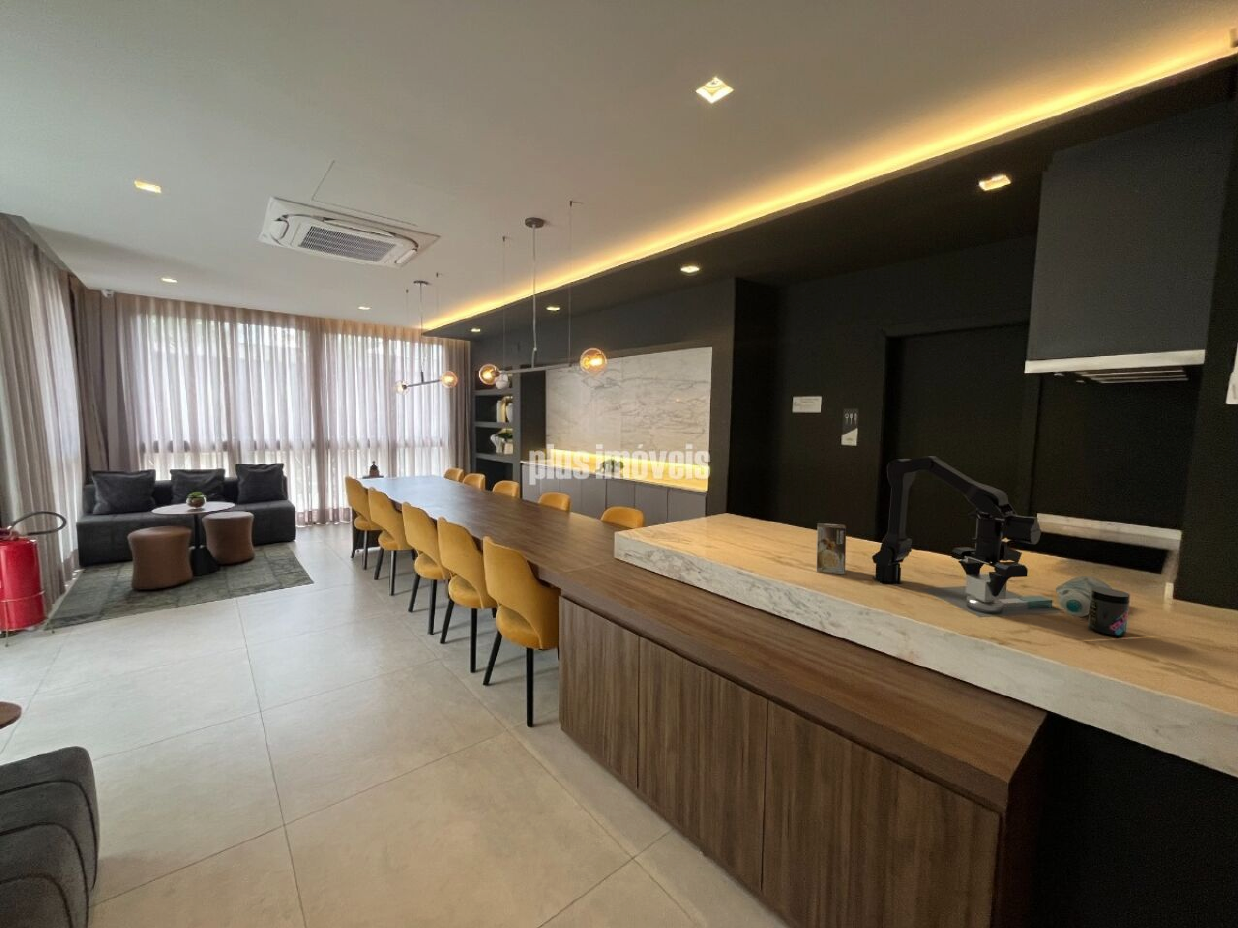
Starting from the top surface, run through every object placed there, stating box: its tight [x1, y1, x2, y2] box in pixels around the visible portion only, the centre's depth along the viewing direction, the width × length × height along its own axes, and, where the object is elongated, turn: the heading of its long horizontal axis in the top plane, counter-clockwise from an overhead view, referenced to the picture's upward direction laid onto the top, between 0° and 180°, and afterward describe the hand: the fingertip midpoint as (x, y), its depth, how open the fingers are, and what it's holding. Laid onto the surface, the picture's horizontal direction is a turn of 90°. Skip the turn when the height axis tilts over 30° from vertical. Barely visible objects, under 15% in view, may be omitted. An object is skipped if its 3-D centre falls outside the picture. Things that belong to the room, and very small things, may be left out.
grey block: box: [965, 573, 1007, 600], centre depth 134 cm, size 6×6×5 cm
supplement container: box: [1087, 587, 1131, 639], centre depth 119 cm, size 7×7×10 cm
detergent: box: [1055, 575, 1113, 618], centre depth 135 cm, size 13×7×25 cm
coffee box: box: [816, 522, 847, 575], centre depth 169 cm, size 9×6×16 cm
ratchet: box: [966, 595, 1054, 614], centre depth 135 cm, size 23×8×6 cm, turn 97°
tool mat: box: [919, 585, 1064, 618], centre depth 141 cm, size 25×22×1 cm
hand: (985, 591), depth 134 cm, fingers closed on grey block, 6 cm apart
